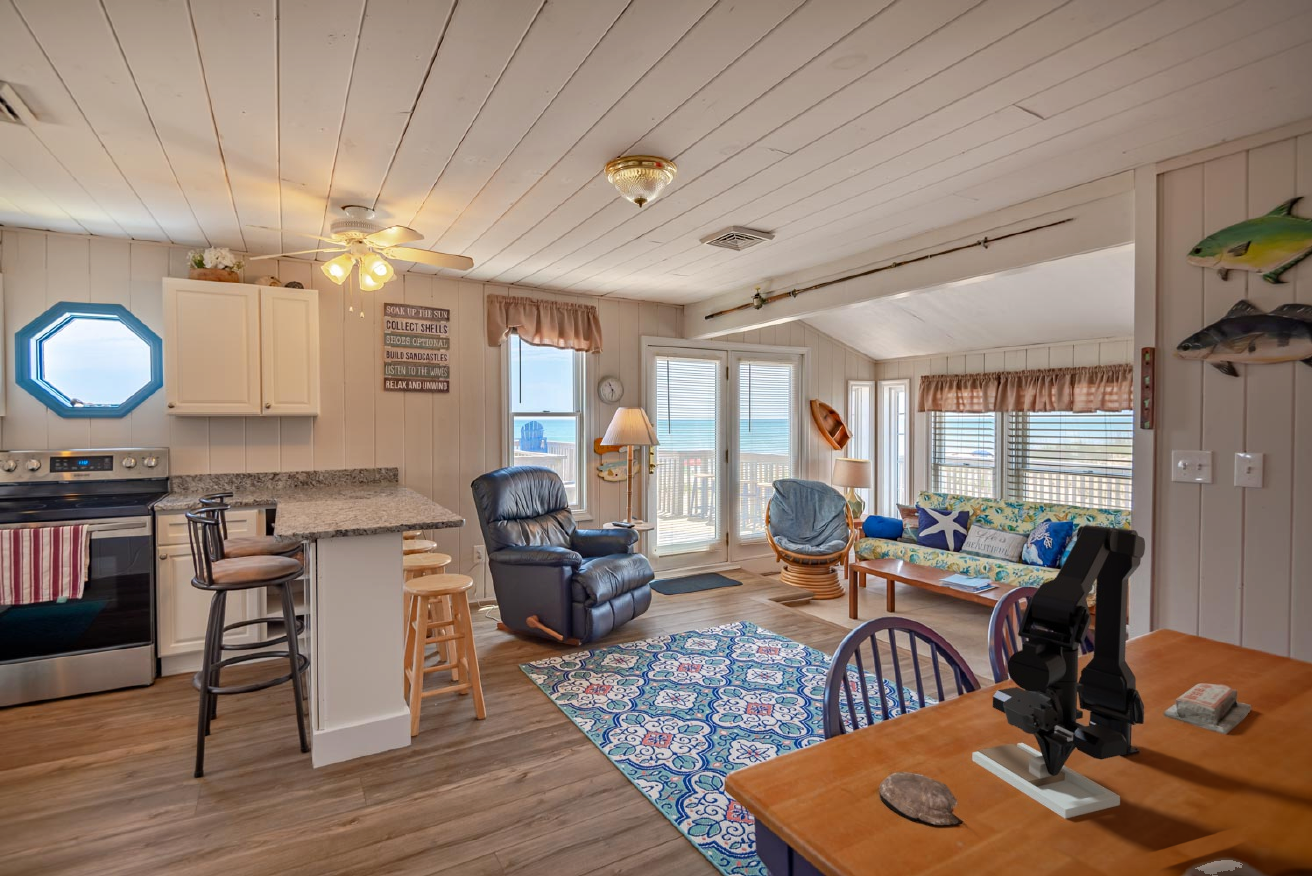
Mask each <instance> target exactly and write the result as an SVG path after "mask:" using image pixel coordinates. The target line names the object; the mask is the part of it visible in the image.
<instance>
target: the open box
mask: <svg viewBox="0 0 1312 876" xmlns="http://www.w3.org/2000/svg"><path fill="white" fill-rule="evenodd" d="M1016 746H1017V747H1019V748H1021V749H1023V750H1025V751H1026V752H1028V753H1030V754H1032V755H1034V756H1035V757H1038V756H1042V753H1041V751H1038V749H1037V750H1036V749H1035V748H1034V747H1032V746H1030V745H1027V744H1026V743H1023V742H1018V743H1017V744H1016ZM971 753H972V762H974V763H975V764H977V765H978V766H980V767H982V768H983V769H985V770H986V771H988V772H990V773H992V774H993V775H995V776H996V777H998V778H1000V779H1001V780H1002V781H1004V782H1006V783H1008V784H1009V785H1010V786H1012V787H1014V788H1015V789H1017V790H1018V791H1020V792H1022V793H1023V794H1025V795H1027V796H1028V797H1030V798H1031V799H1033V800H1035V802H1037V803H1039V804H1041V805H1043V806H1045V807H1046V808H1047V809H1049V810H1050V811H1052V812H1054V813H1055V814H1057V815H1058V816H1060V817H1062V818H1063V819H1064V820H1066V819H1071V818H1075V817H1077V816H1082V815H1086V814H1090V813H1094V812H1097V811H1101V810H1105V809H1110V808H1113V807H1117V806H1120V805H1121V795H1119V794H1117V793H1116V792H1113V791H1112V790H1110V789H1108V788H1106V787H1104V786H1102V785H1101V784H1099V783H1097V782H1095V781H1093V780H1091V779H1089V778H1088V777H1086V776H1084V775H1083V774H1081V773H1079V772H1077V771H1075V770H1073V769H1071V768H1070V767H1067V766H1066V765H1065V764H1064V765H1063V767H1062V769H1061V771H1063V772H1064V773H1065V780H1064V781H1060V782H1055V783H1051V784H1047V785H1042V786H1038V787H1036V786H1034V785H1033V784H1031V783H1029V782H1028V781H1026V780H1025V779H1023V778H1021V777H1020V776H1018V775H1016V774H1015V773H1013V772H1011V771H1010V770H1008V769H1006V768H1005V767H1003V766H1001V765H1000V764H998V763H996V762H995V761H993V760H992V759H990V758H988V757H987V756H985V755H983V754H982V753H980V752H978V750H977V751H973V752H971Z"/></svg>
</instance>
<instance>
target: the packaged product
mask: <svg viewBox="0 0 1312 876" xmlns="http://www.w3.org/2000/svg"><path fill="white" fill-rule="evenodd" d="M1237 696H1238V691H1237V689H1235V688H1234V689H1233V688H1231V686H1228V685H1226V684H1215V683H1205V682H1204V683H1203V682H1202V683H1201V682H1200V683H1197V684H1196V685H1193V686H1192V687H1190V688H1189V689H1188V690H1187V691H1186V692H1183V694H1182V695H1180V696H1178V697H1177V698H1176V699H1175V703H1174V704H1173V705H1171V706H1170V707H1169V708H1167V709H1166V710H1165V711H1164V712H1163V716H1164V717H1166V718H1169V719H1173V720H1176V721H1179V722H1183V723H1186V724H1189V725H1193V726H1196V727H1200V728H1202V729H1205V730H1206V729H1207V730H1209V731H1212V732H1215V733H1216V732H1217V733H1220V734H1222V735H1228V733H1229V732H1230V731H1232V730H1233V729H1234V728H1236V727H1237V726H1238V724H1240V723H1241V722H1242V721H1244V720H1245V718H1246V717H1247V716H1248V713H1250V712H1251V709H1252V705H1251V704H1248V703H1243V702H1238V701H1237V698H1238V697H1237Z"/></svg>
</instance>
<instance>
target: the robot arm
mask: <svg viewBox="0 0 1312 876" xmlns="http://www.w3.org/2000/svg"><path fill="white" fill-rule="evenodd" d="M1145 550H1146V543H1145V539H1144V537H1143V536H1139V533H1138V532H1137V530H1135V529H1128V528H1118V527H1111V526H1110V527H1109V526H1102V525H1087V524H1085V525H1083V526H1079V528H1078V530H1077V532H1076V541H1075V542H1074V544H1073V546H1072V548H1071V550H1070V551H1069V553H1068V554H1067V556H1066V559H1065V560H1064V562H1063V564H1062V566H1061V567H1060V569H1059V571H1058V573H1057V575H1056V576H1055V578H1053V579H1052V580H1051V579H1050V580H1049V581H1046V582H1044V583H1041V585H1040V586H1039V587H1038V588H1037V589H1036V590H1035V592H1034V593H1033V595H1032V596H1031V597H1029V599H1028V601H1027V604H1026V608H1025V610H1024V614H1023V616H1022V620H1021V623H1020V627H1019V629H1018V632H1017V635H1018V637H1021V638H1025V639H1028V640H1025V641H1022V649H1020V650H1018V651H1016V652H1014V653H1013V654H1012V655H1011V656H1010V657H1009V660H1008V662H1007V671H1008V675H1009V676H1010V678H1011V680H1012V681H1013V682H1014V683H1015V684H1016V685H1017V686H1016V687H1009V688H1003V689H998V690H996V691H995V692H994V694H993V695H992V708H993V709H995V710H997V711H999V712H1001V713H1003V714H1005V716H1006V721H1007V723H1008V725H1010V726H1012V727H1016V728H1018V729H1020V730H1021V731H1023V732H1024V733H1026V734H1028V735H1033V736H1034V737H1035V740H1036V742H1037V744H1038V748H1039V750H1040V753H1042V756H1043V758H1044V761H1045V764H1046V767H1047V770H1048V773H1049V774H1050V775H1052V776H1056V775H1058V773H1059V772H1060V770H1061V769H1062V767H1063V765H1064V766H1065V764H1066V762H1067V761H1068V759H1069V757H1070V756H1071V755H1072V753H1073V751H1074V750H1075V749H1076V750H1078V751H1079V752H1081V753H1083V754H1085V755H1088V756H1089V757H1091V758H1093V759H1097V760H1105V759H1110V758H1114V757H1121V758H1122V757H1128V756H1131V755H1136V754H1140V749H1139V748H1137V747H1135V746H1133V745H1132V728H1133V727H1132V726H1135V725H1143V724H1144V723H1145V706H1144V702H1143V700H1142V698H1141V697H1142V696H1141V695H1140V693H1139V690H1137V687H1136V685H1137V684H1136V683H1137V682H1136V680H1137V679H1136V676H1135V674H1134V673H1133V671H1132V669H1131V667H1130V666H1129V665H1128V662H1127V661H1126V644H1127V621H1128V620H1127V619H1128V618H1127V617H1128V597H1129V595H1128V594H1129V593H1128V592H1129V579H1130V577H1132V575H1133V574H1134V573H1135V571H1136V570H1138V568H1139V567H1140V565H1141V559H1142V558H1143V557H1144V556H1145V555H1144V554H1145V552H1146V551H1145ZM1095 581H1096V584H1095V585H1096V586H1095V587H1096V588H1095V607H1094V608H1095V612H1094V614H1095V615H1094V631H1093V634H1094V635H1093V655H1092V658H1091V660H1089V662H1088V663H1087V664H1086V665H1085V666H1084V667H1083V668H1082V669H1081V671H1080V677H1079V678H1078V675H1079V674H1078V673H1079V672H1078V670H1079V647H1080V645H1083V644H1084V642H1085V639H1086V637H1087V633H1088V631H1089V629H1090V626H1091V622H1092V616H1091V615H1090V614H1091V613H1090V610H1089V604H1088V601H1087V597H1088V596H1089V593H1090V591H1091V590H1092V588H1093V585H1094V583H1095ZM1033 626H1035V627H1036V628H1035V627H1033ZM1078 703H1079V709H1078ZM1080 709H1081V710H1080ZM1083 710H1086V711H1089V721H1088V725H1086V724H1084V723H1082V722H1079V721H1077V720H1080V719H1083V718H1084V713H1083V712H1084V711H1083Z"/></svg>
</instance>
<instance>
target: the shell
mask: <svg viewBox="0 0 1312 876" xmlns="http://www.w3.org/2000/svg"><path fill="white" fill-rule="evenodd" d="M878 793H879V798H880V800H881V801H882V802H883V804H885V805H886V807H887V808H889V809H890V810H892V811H894V812H896V813H897V814H898V815H900V817H902V818H903V819H906V820H907V821H911V822H917V823H920V824H922V825H925V826H929V827H932V826H933V827H951V826H952V827H953V826H958V825H961V824H963V823H964V821H963V820H962V819H961V818H959V817H958V816H957V815H955V814H954V813H953V812H952V811H953V810H954V808H955V807H956V806H959V803H957V802H958V799H956V798H955V796H954V793H952V791H951V790H950V788H949V787H948V786H947V784H945V783H942V782H940V781H938V780H935V779H932V778H930V777H927V776H925V775H924V774H922V773H914V772H909V771H898V772H894V773H891V774H889V775H888V776H887V777H886V778H885V779H884V780H883V781H881V782H880V785H879V787H878Z"/></svg>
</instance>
